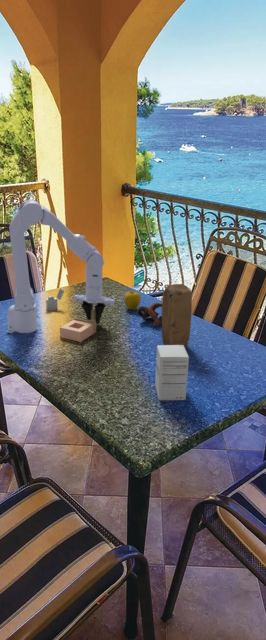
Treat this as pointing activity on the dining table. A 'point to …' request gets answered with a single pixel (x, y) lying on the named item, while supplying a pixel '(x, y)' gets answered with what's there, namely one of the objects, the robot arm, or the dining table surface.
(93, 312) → the dowel
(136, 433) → the dining table surface
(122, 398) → the dining table surface
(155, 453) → the dining table surface
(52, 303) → the lighter
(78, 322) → the sliding block
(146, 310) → the dark brown irregular piece
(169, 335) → the block
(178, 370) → the supplement box
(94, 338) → the dining table surface
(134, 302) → the apple
